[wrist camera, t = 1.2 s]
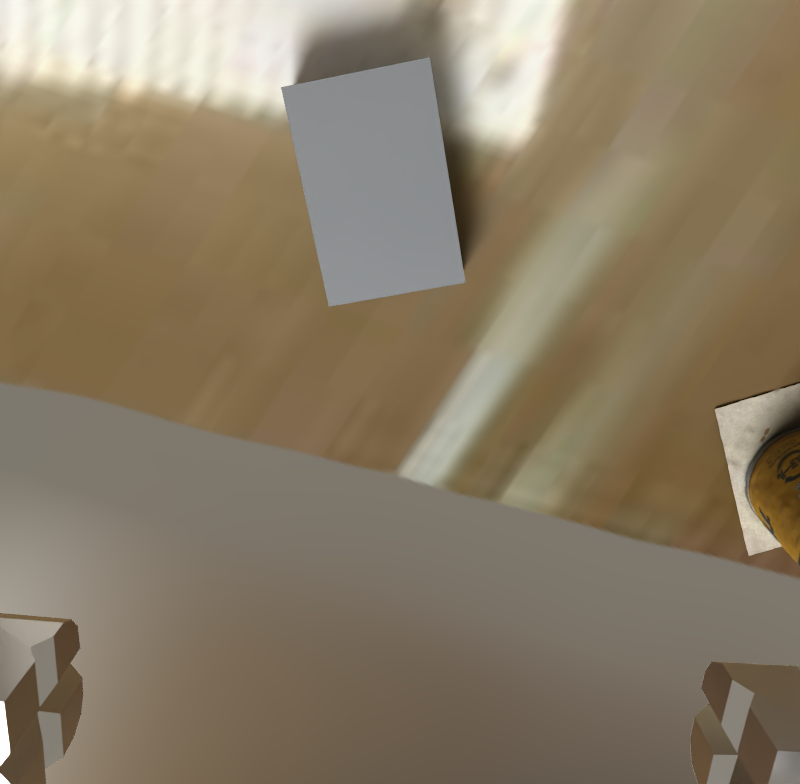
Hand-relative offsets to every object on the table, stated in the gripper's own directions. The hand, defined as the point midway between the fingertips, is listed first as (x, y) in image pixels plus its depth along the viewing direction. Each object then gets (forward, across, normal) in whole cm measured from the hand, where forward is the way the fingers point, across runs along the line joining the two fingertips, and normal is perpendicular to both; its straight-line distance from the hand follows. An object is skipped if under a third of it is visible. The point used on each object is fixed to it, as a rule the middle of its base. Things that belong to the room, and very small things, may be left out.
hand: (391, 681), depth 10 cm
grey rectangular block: (+27, +1, -5) cm, 27 cm away
